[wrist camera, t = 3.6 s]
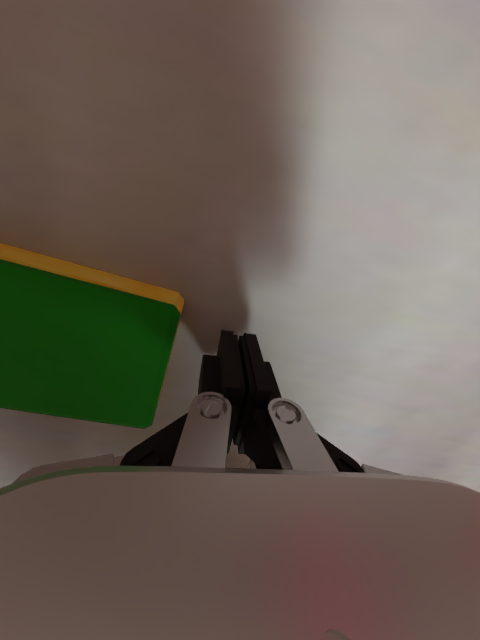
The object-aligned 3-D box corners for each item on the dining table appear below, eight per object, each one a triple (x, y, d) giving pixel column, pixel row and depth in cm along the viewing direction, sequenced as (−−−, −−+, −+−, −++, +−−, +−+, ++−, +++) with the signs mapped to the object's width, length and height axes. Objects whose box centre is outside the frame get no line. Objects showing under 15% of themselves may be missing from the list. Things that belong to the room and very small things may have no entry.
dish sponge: (-190, 185, 9) (-320, 181, 7) (187, 291, 12) (181, 311, 10) (-135, 346, 12) (-214, 379, 10) (159, 397, 15) (149, 431, 13)
